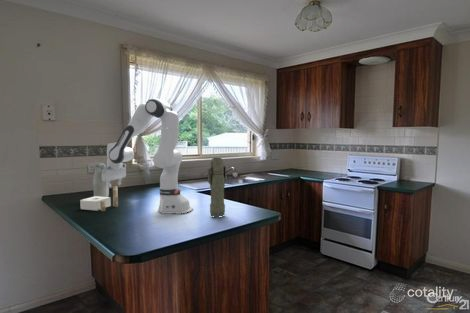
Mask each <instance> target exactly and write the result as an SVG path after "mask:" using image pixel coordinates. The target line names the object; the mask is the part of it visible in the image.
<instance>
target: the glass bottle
mask: <svg viewBox="0 0 470 313" xmlns="http://www.w3.org/2000/svg"><path fill="white" fill-rule="evenodd" d="M105 167H107V164H105V163H103V162H100V163H96V165H95V166H94V175H93V178H92V187H93V197H94V196H100V197H109V195H110V189H109V188H110V187H108V184H107V183H106V181H102V172H103V169H104V168H105Z"/></svg>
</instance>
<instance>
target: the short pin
mask: <svg viewBox="0 0 470 313" xmlns="http://www.w3.org/2000/svg"><path fill="white" fill-rule="evenodd" d="M100 207H101V209H100V212H106V210H107V209H106V208H107V207H106V204H105V201H101V202H100Z"/></svg>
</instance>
